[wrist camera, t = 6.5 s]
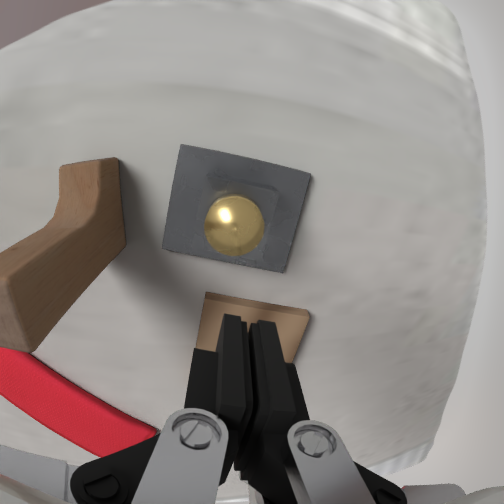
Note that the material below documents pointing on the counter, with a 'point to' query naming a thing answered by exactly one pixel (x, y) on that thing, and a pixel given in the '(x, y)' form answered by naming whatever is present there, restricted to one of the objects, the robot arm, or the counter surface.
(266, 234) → the plate
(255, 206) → the button
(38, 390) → the dish drying mat
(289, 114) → the counter surface
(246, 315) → the board
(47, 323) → the wooden block
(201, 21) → the counter surface
